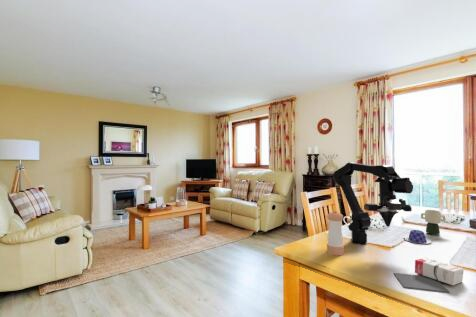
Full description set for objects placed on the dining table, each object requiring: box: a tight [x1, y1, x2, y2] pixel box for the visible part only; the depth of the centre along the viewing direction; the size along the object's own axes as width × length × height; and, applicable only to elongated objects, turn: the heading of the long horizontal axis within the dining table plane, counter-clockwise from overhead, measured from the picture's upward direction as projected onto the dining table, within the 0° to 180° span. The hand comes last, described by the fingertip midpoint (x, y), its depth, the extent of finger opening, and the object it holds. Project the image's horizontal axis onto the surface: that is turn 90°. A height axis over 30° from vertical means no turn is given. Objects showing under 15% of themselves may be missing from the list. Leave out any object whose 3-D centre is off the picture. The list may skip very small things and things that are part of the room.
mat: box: [393, 272, 450, 294], centre depth 89 cm, size 13×10×1 cm
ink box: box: [414, 257, 464, 286], centre depth 92 cm, size 8×5×12 cm
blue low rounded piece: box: [404, 229, 432, 245], centre depth 134 cm, size 12×12×5 cm
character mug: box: [420, 209, 446, 235], centre depth 145 cm, size 11×7×13 cm, turn 49°
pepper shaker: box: [326, 210, 345, 256], centre depth 118 cm, size 7×7×19 cm
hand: (387, 226), depth 117 cm, fingers closed
